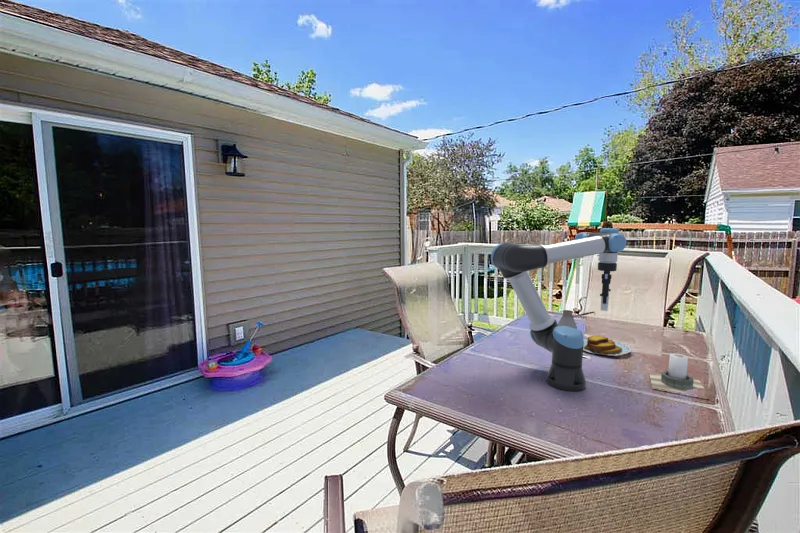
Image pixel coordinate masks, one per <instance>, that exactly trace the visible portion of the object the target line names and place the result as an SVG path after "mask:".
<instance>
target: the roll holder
mask: <svg viewBox="0 0 800 533" xmlns="http://www.w3.org/2000/svg"><path fill="white" fill-rule="evenodd" d="M649 376H650V378H649V382H650V381H651V382H650V386H651V385H652V387H651V389H652V388H655V389H661V390H668V391H675V392H681V393H685V391H687V390H693V389H700V388H701V389H702V388H704V389H705V387H704V385H703V383H702V382H701V380H698V379H694V377H693V376H691V375H689V374H687V375H686V380H680V379H675V378H672V377H669V376H668V370H663V371H661V373H657V372H651V371H648V377H649Z"/></svg>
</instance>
